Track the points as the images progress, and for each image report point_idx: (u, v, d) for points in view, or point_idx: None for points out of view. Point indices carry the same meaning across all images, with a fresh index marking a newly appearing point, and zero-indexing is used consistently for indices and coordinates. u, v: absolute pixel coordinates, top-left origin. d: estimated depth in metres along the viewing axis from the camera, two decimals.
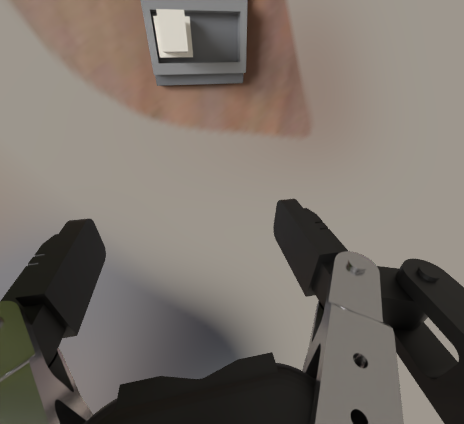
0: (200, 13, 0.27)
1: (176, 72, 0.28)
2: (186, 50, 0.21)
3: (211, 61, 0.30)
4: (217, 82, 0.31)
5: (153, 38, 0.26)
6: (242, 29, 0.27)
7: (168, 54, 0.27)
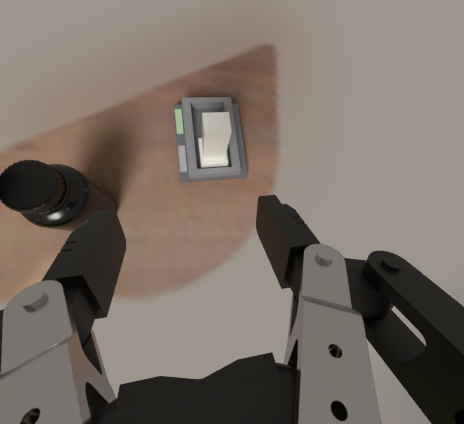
0: (194, 136, 0.33)
1: (237, 153, 0.32)
2: (228, 113, 0.25)
3: None
4: (239, 124, 0.35)
5: (215, 168, 0.31)
6: (201, 100, 0.33)
7: (225, 156, 0.31)
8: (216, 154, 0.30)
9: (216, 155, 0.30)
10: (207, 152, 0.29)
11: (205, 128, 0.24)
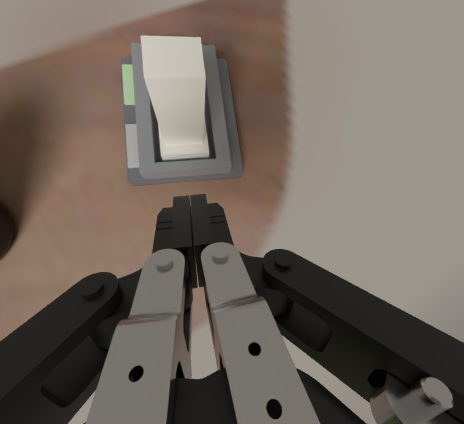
0: (153, 109, 0.20)
1: (224, 135, 0.19)
2: (199, 40, 0.12)
3: (205, 98, 0.21)
4: (229, 91, 0.22)
5: (187, 161, 0.18)
6: None
7: (204, 140, 0.18)
8: (186, 135, 0.17)
9: (185, 136, 0.17)
10: (168, 131, 0.16)
11: (146, 68, 0.11)
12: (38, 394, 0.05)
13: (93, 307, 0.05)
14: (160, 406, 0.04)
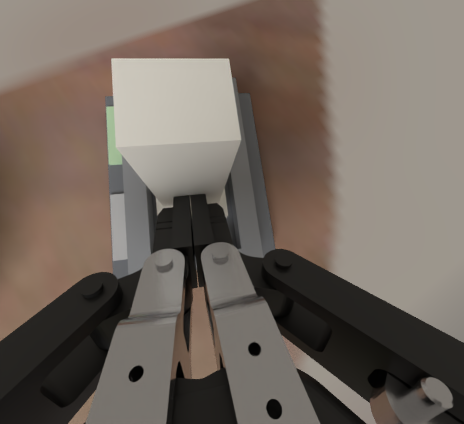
0: None
1: (252, 212, 0.13)
2: (226, 65, 0.06)
3: None
4: (255, 139, 0.16)
5: None
6: None
7: (220, 197, 0.13)
8: None
9: None
10: (168, 197, 0.10)
11: (122, 127, 0.05)
12: (38, 394, 0.05)
13: (93, 307, 0.05)
14: (160, 406, 0.04)
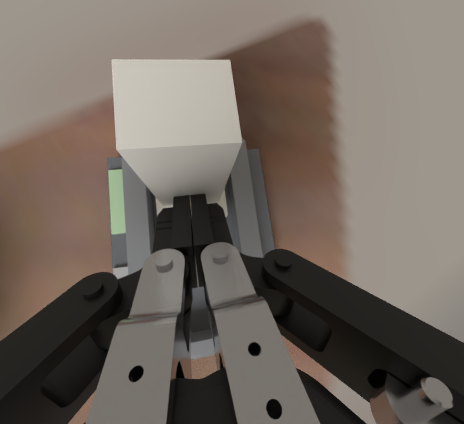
0: None
1: None
2: (227, 66, 0.06)
3: (230, 213, 0.15)
4: (264, 199, 0.15)
5: (208, 340, 0.12)
6: None
7: (220, 197, 0.12)
8: None
9: None
10: (168, 197, 0.10)
11: (122, 129, 0.05)
12: (38, 394, 0.05)
13: (93, 307, 0.05)
14: (160, 406, 0.04)
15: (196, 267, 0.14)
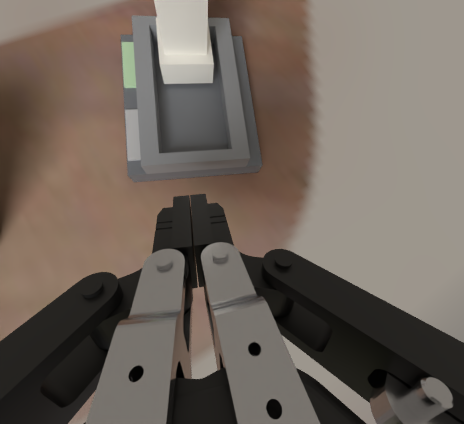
0: (158, 92, 0.17)
1: (241, 122, 0.16)
2: None
3: (217, 81, 0.18)
4: (245, 73, 0.19)
5: (197, 151, 0.15)
6: None
7: (208, 51, 0.16)
8: (187, 36, 0.15)
9: (187, 38, 0.15)
10: (167, 24, 0.14)
11: None
12: (38, 394, 0.05)
13: (93, 307, 0.05)
14: (160, 406, 0.04)
15: (190, 116, 0.17)
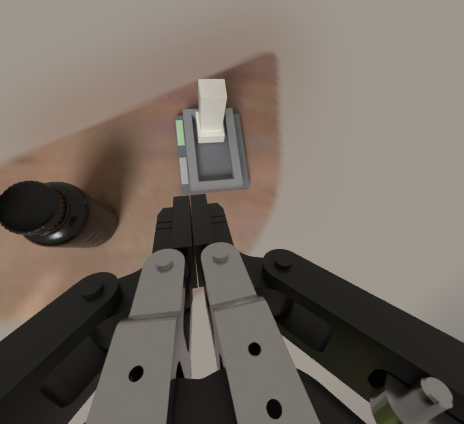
0: (195, 147, 0.33)
1: (238, 164, 0.32)
2: (223, 80, 0.26)
3: (226, 140, 0.34)
4: (241, 135, 0.35)
5: (217, 180, 0.31)
6: None
7: (221, 129, 0.32)
8: (213, 125, 0.30)
9: (212, 126, 0.31)
10: (204, 123, 0.29)
11: (201, 94, 0.25)
12: (38, 394, 0.05)
13: (93, 307, 0.05)
14: (160, 406, 0.04)
15: (211, 160, 0.33)
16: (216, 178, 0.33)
